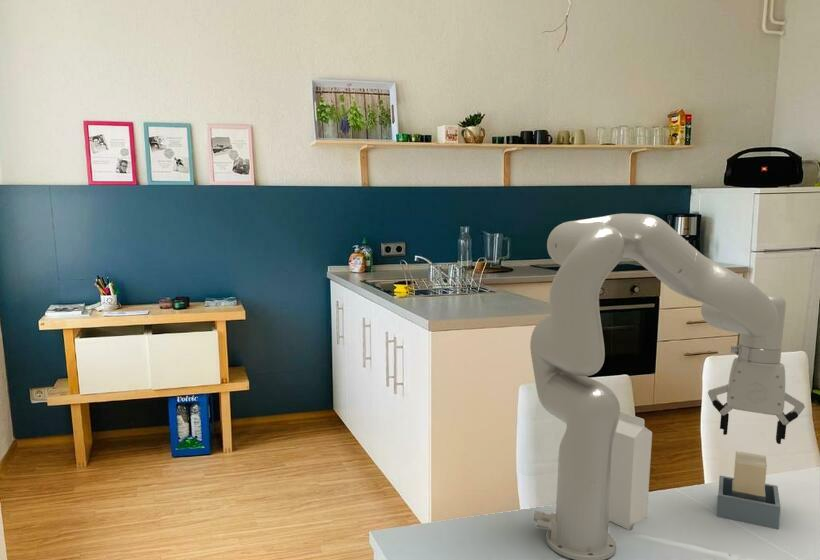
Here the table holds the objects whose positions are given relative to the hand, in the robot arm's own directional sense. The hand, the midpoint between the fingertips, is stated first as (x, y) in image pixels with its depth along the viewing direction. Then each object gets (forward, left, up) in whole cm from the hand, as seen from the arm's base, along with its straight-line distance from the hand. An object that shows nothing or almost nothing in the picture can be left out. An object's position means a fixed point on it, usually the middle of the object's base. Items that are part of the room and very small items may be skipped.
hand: (751, 437), depth 133 cm
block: (0, 0, -16) cm, 16 cm away
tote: (0, 0, -17) cm, 17 cm away
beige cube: (0, 0, -11) cm, 11 cm away
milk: (-22, -14, -17) cm, 31 cm away
